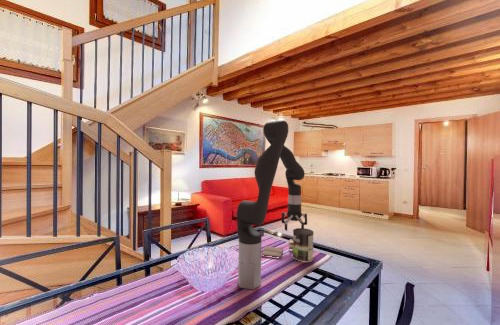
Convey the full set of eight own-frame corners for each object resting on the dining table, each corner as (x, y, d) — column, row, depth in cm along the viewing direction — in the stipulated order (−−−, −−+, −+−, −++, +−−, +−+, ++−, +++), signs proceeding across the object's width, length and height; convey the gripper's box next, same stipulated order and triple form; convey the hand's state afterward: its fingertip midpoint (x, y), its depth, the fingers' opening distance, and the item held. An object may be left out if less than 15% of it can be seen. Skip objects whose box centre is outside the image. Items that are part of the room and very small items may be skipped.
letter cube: (298, 251, 129) (298, 242, 129) (289, 251, 130) (289, 241, 130) (298, 248, 134) (298, 239, 134) (289, 247, 135) (289, 238, 135)
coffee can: (298, 263, 114) (299, 234, 114) (289, 255, 124) (289, 228, 124) (317, 261, 117) (317, 233, 117) (306, 253, 127) (306, 227, 127)
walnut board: (280, 258, 119) (280, 256, 119) (261, 256, 121) (261, 254, 121) (282, 250, 131) (282, 248, 131) (265, 248, 133) (265, 246, 133)
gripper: (281, 203, 130) (280, 232, 130) (307, 204, 127) (307, 234, 127) (282, 200, 137) (282, 228, 138) (307, 202, 134) (307, 230, 134)
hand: (294, 231), depth 132 cm, fingers open, 8 cm apart
